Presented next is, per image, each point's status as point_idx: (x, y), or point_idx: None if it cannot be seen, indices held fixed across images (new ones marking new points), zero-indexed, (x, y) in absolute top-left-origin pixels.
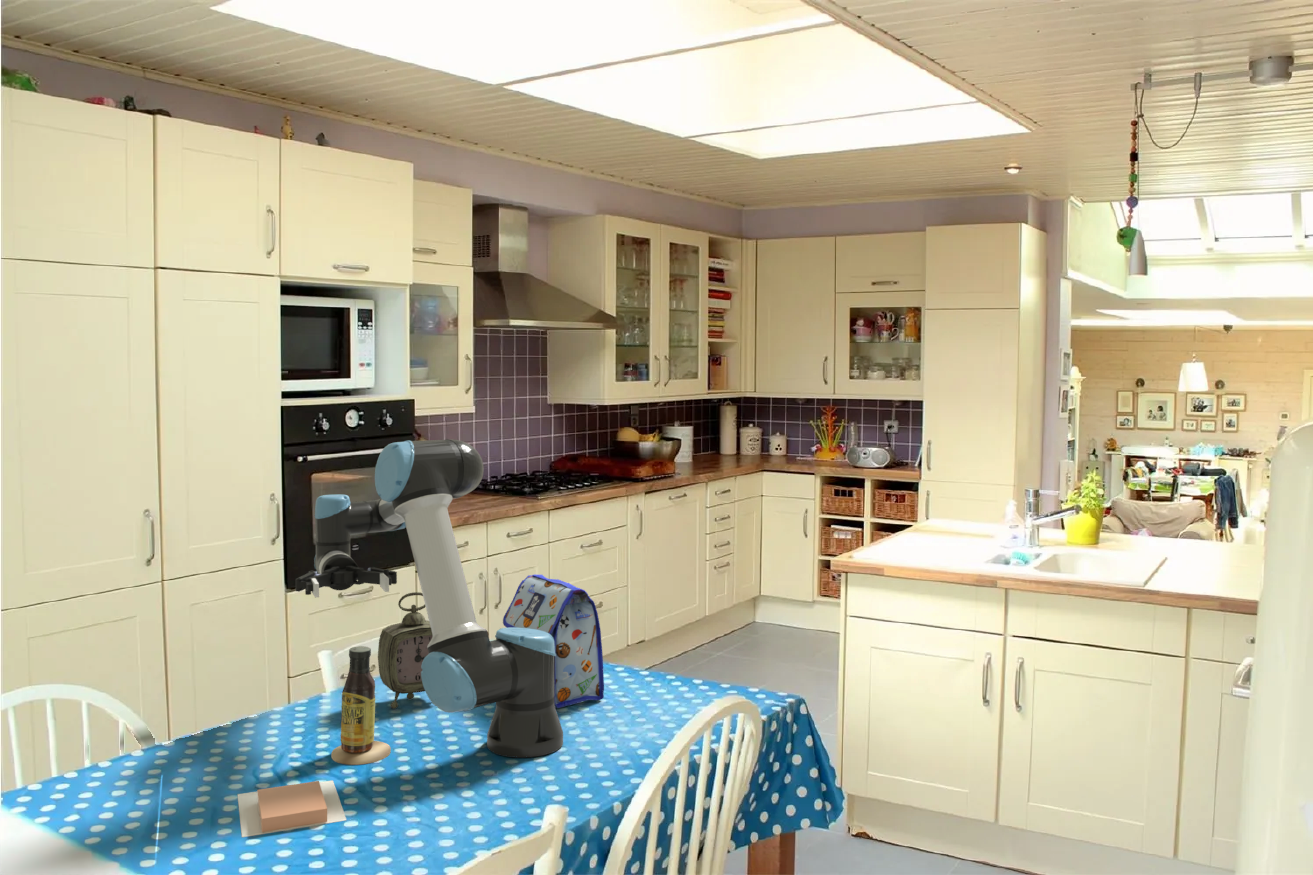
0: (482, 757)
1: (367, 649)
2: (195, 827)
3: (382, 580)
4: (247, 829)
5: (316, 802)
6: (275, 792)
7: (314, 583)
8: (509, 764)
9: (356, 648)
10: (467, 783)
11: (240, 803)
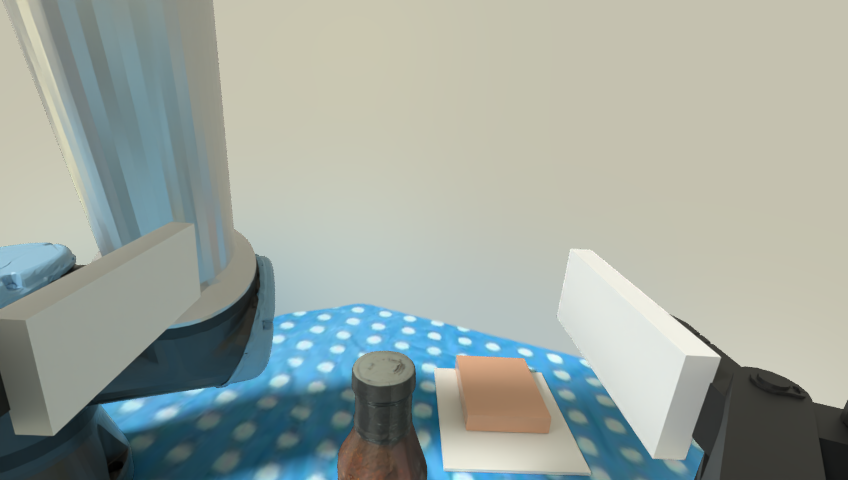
0: (165, 475)
1: (365, 358)
2: (607, 412)
3: (137, 291)
4: (540, 383)
5: (468, 368)
6: (523, 403)
7: (599, 257)
8: (156, 433)
9: (393, 370)
10: (261, 401)
11: (573, 442)
